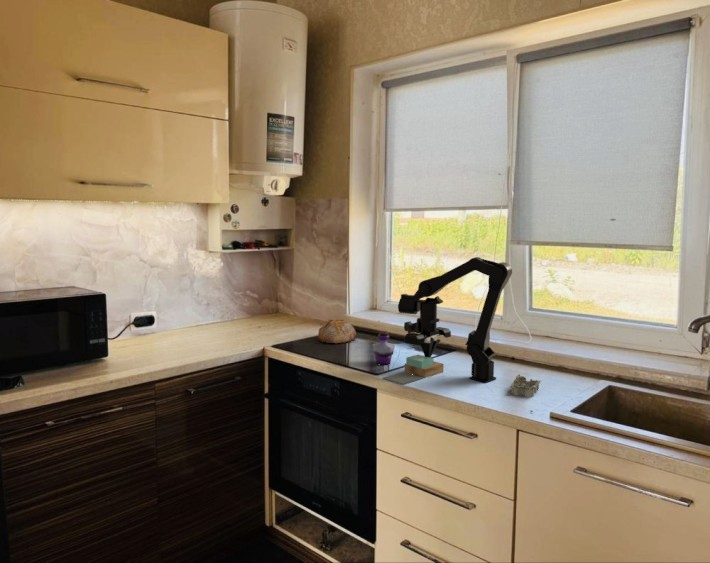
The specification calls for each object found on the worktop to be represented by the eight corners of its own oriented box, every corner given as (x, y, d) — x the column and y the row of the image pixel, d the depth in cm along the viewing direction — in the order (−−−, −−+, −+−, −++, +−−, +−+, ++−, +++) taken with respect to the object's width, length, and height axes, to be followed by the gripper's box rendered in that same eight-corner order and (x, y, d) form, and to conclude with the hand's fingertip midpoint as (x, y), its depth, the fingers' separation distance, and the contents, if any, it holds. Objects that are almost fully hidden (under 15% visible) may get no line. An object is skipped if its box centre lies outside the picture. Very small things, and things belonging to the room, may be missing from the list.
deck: (443, 372, 190) (443, 363, 190) (424, 378, 183) (425, 369, 183) (423, 366, 196) (423, 358, 196) (404, 372, 190) (404, 363, 189)
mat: (423, 378, 182) (423, 377, 182) (403, 384, 176) (403, 383, 176) (402, 372, 189) (402, 371, 189) (382, 378, 182) (382, 377, 182)
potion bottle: (398, 362, 203) (398, 330, 202) (390, 367, 195) (390, 334, 194) (377, 359, 207) (377, 328, 205) (367, 365, 199) (368, 332, 198)
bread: (314, 346, 231) (312, 323, 230) (324, 336, 251) (323, 315, 250) (352, 346, 229) (350, 322, 227) (359, 335, 248) (358, 313, 247)
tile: (433, 365, 187) (433, 358, 187) (421, 368, 184) (421, 361, 183) (418, 361, 193) (418, 354, 192) (406, 364, 189) (406, 357, 188)
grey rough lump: (518, 385, 176) (518, 373, 176) (542, 389, 172) (542, 376, 172) (507, 394, 167) (508, 381, 167) (532, 398, 163) (533, 385, 163)
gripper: (427, 309, 201) (426, 351, 203) (392, 315, 188) (392, 360, 190) (452, 313, 193) (451, 356, 195) (417, 320, 180) (416, 366, 182)
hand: (427, 359), depth 191 cm, fingers closed
